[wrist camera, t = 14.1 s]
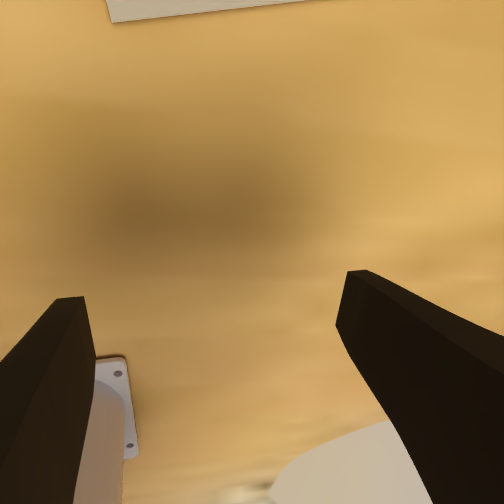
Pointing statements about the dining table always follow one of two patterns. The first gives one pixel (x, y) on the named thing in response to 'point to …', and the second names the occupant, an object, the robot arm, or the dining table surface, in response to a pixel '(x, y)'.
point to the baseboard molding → (176, 7)
